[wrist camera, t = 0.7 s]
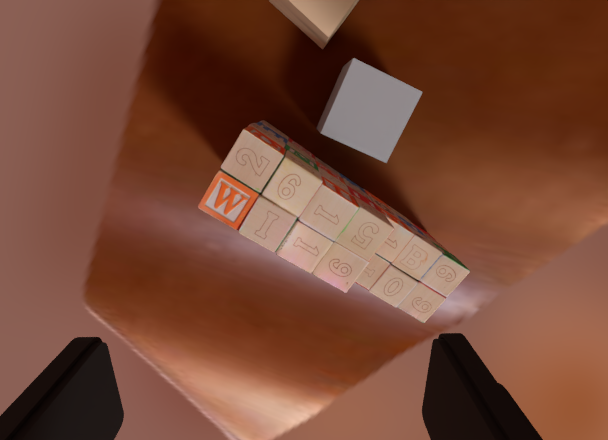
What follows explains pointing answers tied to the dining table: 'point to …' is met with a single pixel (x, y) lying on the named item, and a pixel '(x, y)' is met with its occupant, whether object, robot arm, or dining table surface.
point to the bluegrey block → (368, 110)
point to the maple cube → (316, 16)
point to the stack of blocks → (328, 223)
